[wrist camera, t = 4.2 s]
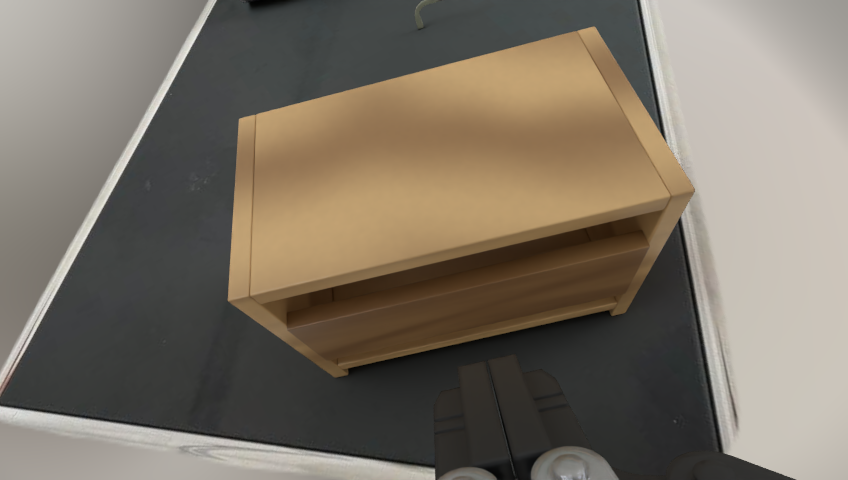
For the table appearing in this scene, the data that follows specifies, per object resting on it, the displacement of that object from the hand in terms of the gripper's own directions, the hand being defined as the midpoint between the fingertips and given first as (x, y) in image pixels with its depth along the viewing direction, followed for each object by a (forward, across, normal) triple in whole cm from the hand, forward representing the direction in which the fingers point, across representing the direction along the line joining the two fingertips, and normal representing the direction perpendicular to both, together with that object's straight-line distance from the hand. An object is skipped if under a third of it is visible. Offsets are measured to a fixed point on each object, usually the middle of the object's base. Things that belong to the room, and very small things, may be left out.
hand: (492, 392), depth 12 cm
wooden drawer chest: (+15, 0, +2) cm, 15 cm away
